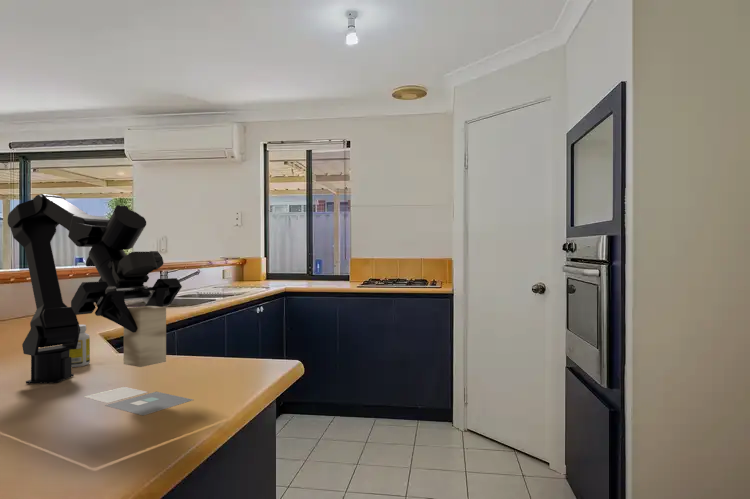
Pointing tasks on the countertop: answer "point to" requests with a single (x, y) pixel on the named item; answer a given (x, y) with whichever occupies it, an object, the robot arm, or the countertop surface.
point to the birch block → (146, 337)
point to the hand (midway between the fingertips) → (149, 328)
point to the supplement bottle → (81, 349)
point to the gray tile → (149, 403)
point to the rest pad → (115, 394)
